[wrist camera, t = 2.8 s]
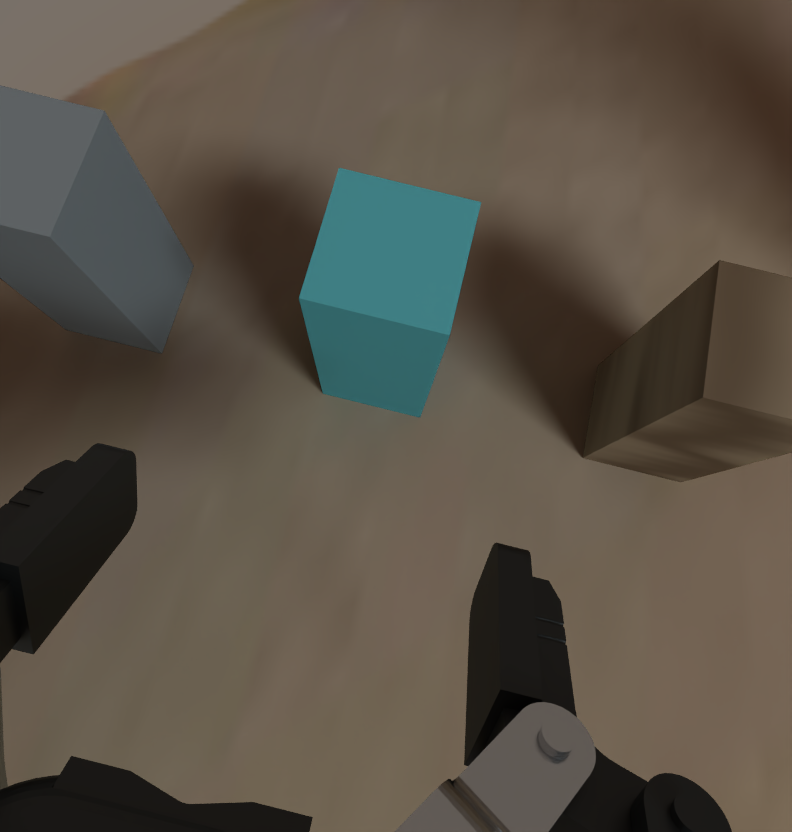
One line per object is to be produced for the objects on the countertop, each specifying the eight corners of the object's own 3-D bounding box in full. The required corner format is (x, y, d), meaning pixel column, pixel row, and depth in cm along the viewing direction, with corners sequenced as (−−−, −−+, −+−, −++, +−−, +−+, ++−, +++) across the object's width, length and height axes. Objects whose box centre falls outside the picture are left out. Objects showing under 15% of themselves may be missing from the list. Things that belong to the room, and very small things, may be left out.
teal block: (441, 326, 28) (481, 202, 19) (420, 417, 27) (449, 335, 18) (348, 304, 28) (339, 168, 19) (322, 393, 27) (299, 298, 18)
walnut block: (692, 388, 28) (864, 295, 18) (681, 482, 27) (856, 435, 17) (598, 365, 28) (719, 259, 19) (582, 457, 27) (703, 397, 17)
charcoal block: (193, 265, 28) (104, 110, 19) (162, 353, 27) (49, 236, 18) (101, 243, 29) (-36, 76, 19) (65, 329, 27) (-99, 200, 18)
